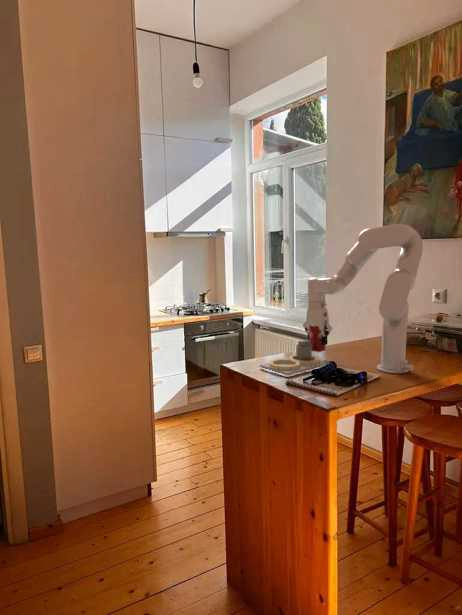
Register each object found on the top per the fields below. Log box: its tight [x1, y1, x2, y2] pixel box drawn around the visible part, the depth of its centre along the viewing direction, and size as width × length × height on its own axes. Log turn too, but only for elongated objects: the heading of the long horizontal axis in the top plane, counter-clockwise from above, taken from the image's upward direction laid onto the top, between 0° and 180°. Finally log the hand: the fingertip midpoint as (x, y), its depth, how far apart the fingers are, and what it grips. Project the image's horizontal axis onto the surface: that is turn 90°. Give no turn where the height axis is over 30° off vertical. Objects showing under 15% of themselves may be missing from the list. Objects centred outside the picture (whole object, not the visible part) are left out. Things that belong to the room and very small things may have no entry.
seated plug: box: [295, 339, 313, 361], centre depth 198 cm, size 7×7×9 cm
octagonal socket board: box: [259, 354, 329, 375], centre depth 195 cm, size 16×25×4 cm, turn 129°
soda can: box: [309, 325, 327, 353], centre depth 207 cm, size 7×7×12 cm
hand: (317, 343), depth 208 cm, fingers closed on soda can, 7 cm apart
